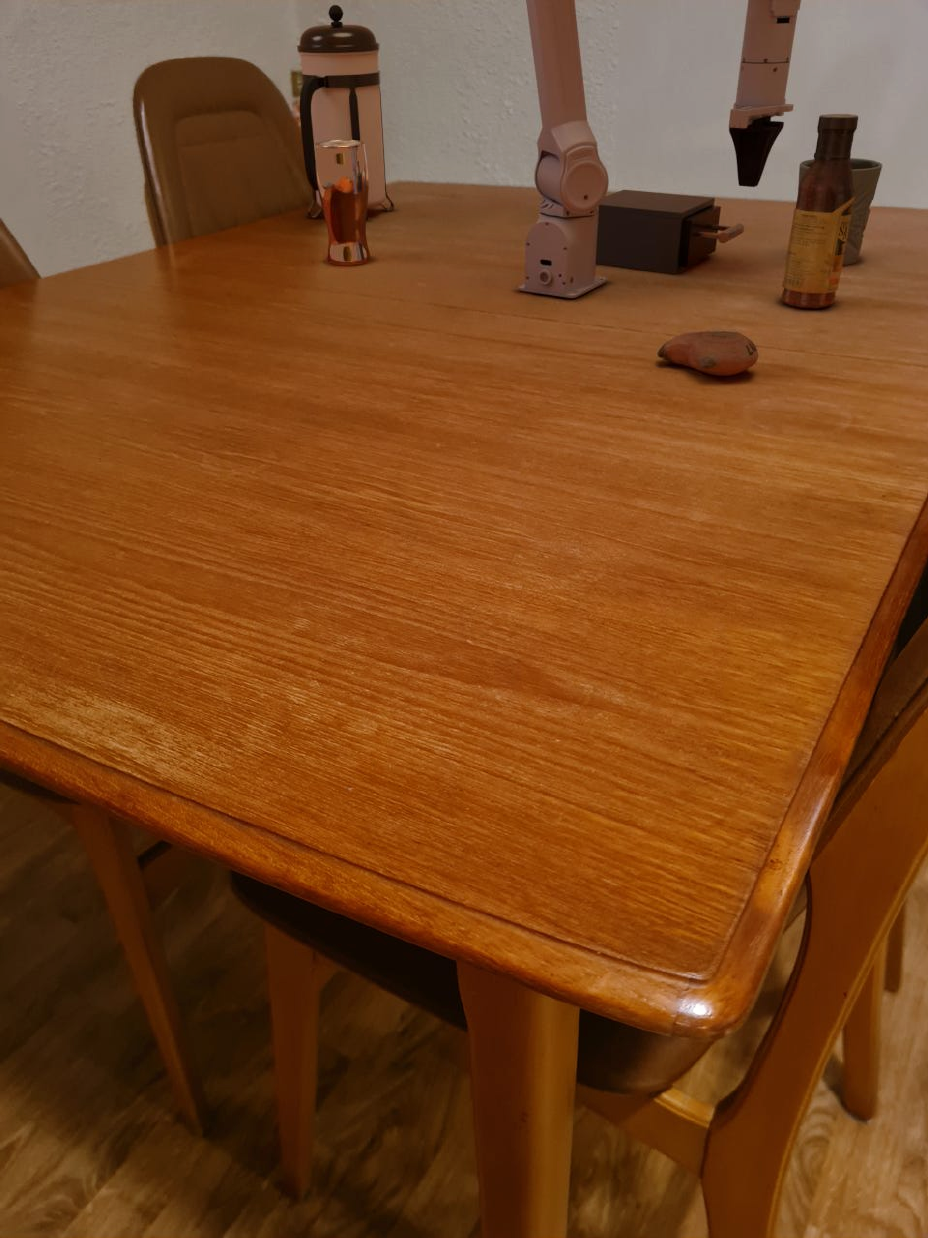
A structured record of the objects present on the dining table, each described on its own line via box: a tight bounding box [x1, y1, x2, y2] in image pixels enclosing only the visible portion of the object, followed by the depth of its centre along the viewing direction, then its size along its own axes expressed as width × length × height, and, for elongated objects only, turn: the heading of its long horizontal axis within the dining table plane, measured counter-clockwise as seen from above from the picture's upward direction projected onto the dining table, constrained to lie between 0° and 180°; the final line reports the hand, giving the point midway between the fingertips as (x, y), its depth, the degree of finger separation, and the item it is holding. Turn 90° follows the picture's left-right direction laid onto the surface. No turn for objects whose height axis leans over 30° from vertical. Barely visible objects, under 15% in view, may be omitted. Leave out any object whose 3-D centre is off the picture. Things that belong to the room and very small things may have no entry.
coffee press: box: [296, 4, 395, 222], centre depth 153 cm, size 17×16×30 cm
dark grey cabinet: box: [596, 189, 716, 275], centre depth 131 cm, size 14×12×8 cm
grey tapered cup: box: [797, 157, 883, 266], centre depth 128 cm, size 10×10×12 cm
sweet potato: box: [656, 329, 759, 377], centre depth 94 cm, size 9×4×8 cm
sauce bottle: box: [781, 113, 859, 309], centre depth 108 cm, size 7×6×20 cm
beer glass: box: [315, 140, 372, 267], centre depth 131 cm, size 7×7×15 cm
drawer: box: [678, 205, 745, 268], centre depth 129 cm, size 17×10×6 cm, turn 57°
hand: (748, 185), depth 121 cm, fingers closed
